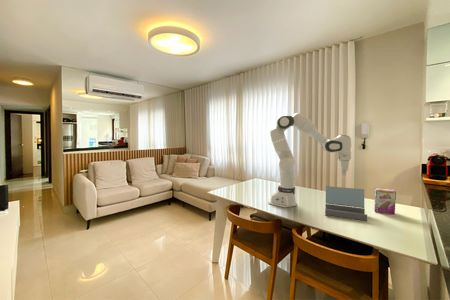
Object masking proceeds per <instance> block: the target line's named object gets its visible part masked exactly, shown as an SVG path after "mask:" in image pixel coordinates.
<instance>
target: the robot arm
mask: <svg viewBox="0 0 450 300" xmlns="http://www.w3.org/2000/svg"><path fill="white" fill-rule="evenodd" d="M290 127H294V128H295V129H297V130H298V131H300V132H301V133H302V134H304V135H306V136H308V137H311V138H313V139H314V140H315V141H317V143H319V144H320V145H321V147H322V149H323V150H324V151H326V152H328V153H336V152H337V159H338V160H339V161H340V169H341V172H342V173H341V174H342V176H346V173H347V171H348V170H349V164H350V161H351V159H352V150H351V149H352V138H351V137H350V136H349V135H345V134H339V135H338V136H336V137H334V138H328V137H326V136H325V135H323V134H322V133H321V132H320V131H319V130H318V129H317V127H316V124H315V123H314V122H313V121H312V120H311V119H309V118H308V117H307V116H306V115H303V114H302V113H300V112H296V113H294V114H293V115H286V114H284V115H281V116H279V117H278V118H277V121H276V126H274V127H273V128H272V129H271V130H270V132H269V134H270V138H271V142H272V143H271V144H272V145H273V148H274V151H275V153H276V155H277V157H278V159H279V163H278V167H279V171H278V172H279V176H280V180H279V181H280V182H279V183H280V184H279V185H277V190H276V191H275V192H274V193H273V194H271V197H270V199H268V201H267V203H268V204H269V205H273V206H277V207H280V208H281V207H283V208H289V207H295V206H297V204H298V203H297V200H296V187H295V186H296V185H295V169H294V168H295V165H296V160H295V157H294V155H293V153H292V150H291V148H290V146H289V144H288V141H287V138H286V136H285V135H286V134H285V131H286V130H288V129H289V128H290Z"/></svg>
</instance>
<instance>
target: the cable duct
mask: <svg viewBox="0 0 450 300" xmlns="http://www.w3.org/2000/svg"><path fill="white" fill-rule="evenodd" d="M324 209H325V212H324V216H326V217H333V218H340V219H346V220H353V221H359V222H366V223H367V222H368V214H367V213H365V212H366V211H365V207H364V208H360V207H351V206H343V205H335V204H326V203H325V208H324Z"/></svg>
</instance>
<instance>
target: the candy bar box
mask: <svg viewBox="0 0 450 300" xmlns="http://www.w3.org/2000/svg"><path fill="white" fill-rule="evenodd" d="M396 196H397V192H396V190H395V189H387V188H377V187H376V188H375V189H374V208H373V209H374V213H382V214H389V215H395V213H396V198H397V197H396Z"/></svg>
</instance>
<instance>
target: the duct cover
mask: <svg viewBox="0 0 450 300" xmlns="http://www.w3.org/2000/svg"><path fill="white" fill-rule="evenodd" d="M326 204H331V205H339V206H348V207H356V208H364V209H365V189H364V188H363V189H362V188H355V187H354V188H353V187H342V186H341V187H340V186H328V185H325V205H326Z"/></svg>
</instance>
